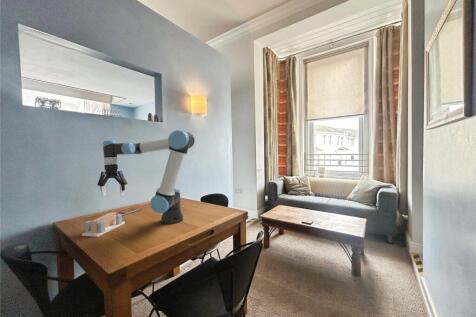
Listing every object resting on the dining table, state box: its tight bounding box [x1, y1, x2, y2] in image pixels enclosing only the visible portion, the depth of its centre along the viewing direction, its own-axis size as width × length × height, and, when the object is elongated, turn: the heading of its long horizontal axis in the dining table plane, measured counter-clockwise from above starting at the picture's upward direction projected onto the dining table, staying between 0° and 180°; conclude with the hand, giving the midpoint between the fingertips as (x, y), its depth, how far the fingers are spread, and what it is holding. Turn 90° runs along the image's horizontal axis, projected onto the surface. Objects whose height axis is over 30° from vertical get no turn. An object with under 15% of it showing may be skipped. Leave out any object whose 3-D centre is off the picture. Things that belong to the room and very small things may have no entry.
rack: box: [81, 213, 125, 238], centre depth 130 cm, size 11×22×7 cm, turn 170°
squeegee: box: [118, 208, 143, 217], centre depth 162 cm, size 29×2×10 cm
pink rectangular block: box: [89, 211, 117, 233], centre depth 130 cm, size 4×18×7 cm, turn 178°
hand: (113, 195), depth 134 cm, fingers open, 13 cm apart
